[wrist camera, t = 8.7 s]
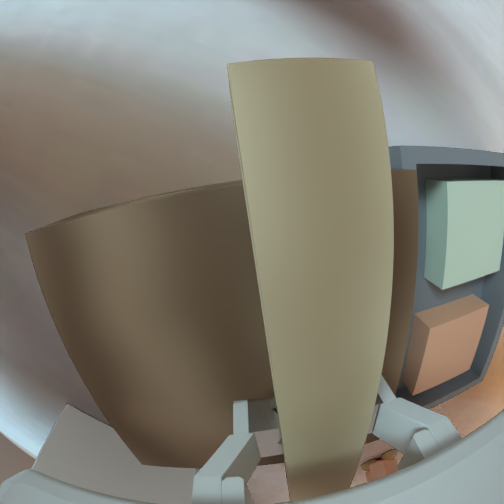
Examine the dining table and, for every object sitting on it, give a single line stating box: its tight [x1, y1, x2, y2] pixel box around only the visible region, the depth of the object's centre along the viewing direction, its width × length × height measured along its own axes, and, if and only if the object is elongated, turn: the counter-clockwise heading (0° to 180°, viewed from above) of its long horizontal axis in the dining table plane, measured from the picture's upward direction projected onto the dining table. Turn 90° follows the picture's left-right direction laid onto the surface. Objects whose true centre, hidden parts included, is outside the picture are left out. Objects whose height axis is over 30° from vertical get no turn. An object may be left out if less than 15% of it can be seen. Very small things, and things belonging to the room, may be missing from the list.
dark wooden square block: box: [25, 169, 418, 468], centre depth 13 cm, size 16×16×5 cm
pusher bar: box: [227, 58, 394, 501], centre depth 8 cm, size 2×20×4 cm, turn 8°
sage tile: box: [424, 178, 504, 290], centre depth 13 cm, size 6×6×2 cm
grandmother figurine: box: [361, 449, 398, 482], centre depth 16 cm, size 8×4×13 cm, turn 130°
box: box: [389, 146, 504, 409], centre depth 14 cm, size 11×18×4 cm, turn 8°
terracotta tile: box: [401, 294, 489, 396], centre depth 15 cm, size 6×6×2 cm
